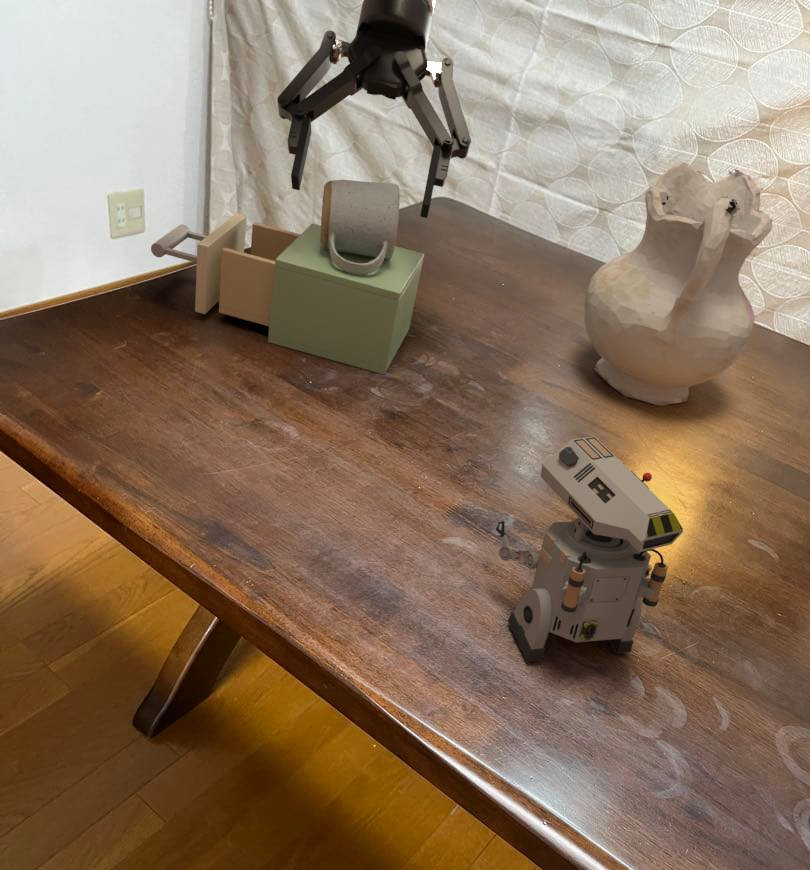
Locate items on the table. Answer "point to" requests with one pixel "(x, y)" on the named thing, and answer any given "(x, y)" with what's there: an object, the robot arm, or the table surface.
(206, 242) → the drawer
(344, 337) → the cabinet
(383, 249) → the ceramic mug
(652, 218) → the ceramic pitcher
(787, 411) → the table surface
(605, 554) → the figurine
